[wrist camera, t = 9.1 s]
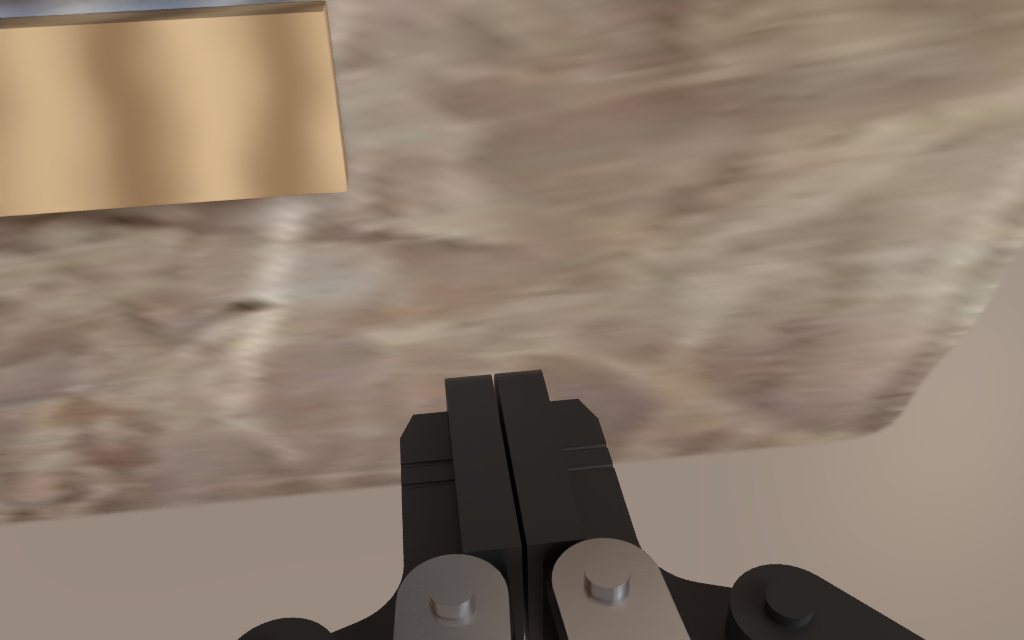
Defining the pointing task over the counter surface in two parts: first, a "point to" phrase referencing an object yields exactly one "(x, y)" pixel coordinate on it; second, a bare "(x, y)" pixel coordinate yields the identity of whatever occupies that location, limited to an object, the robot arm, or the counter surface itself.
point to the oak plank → (168, 107)
